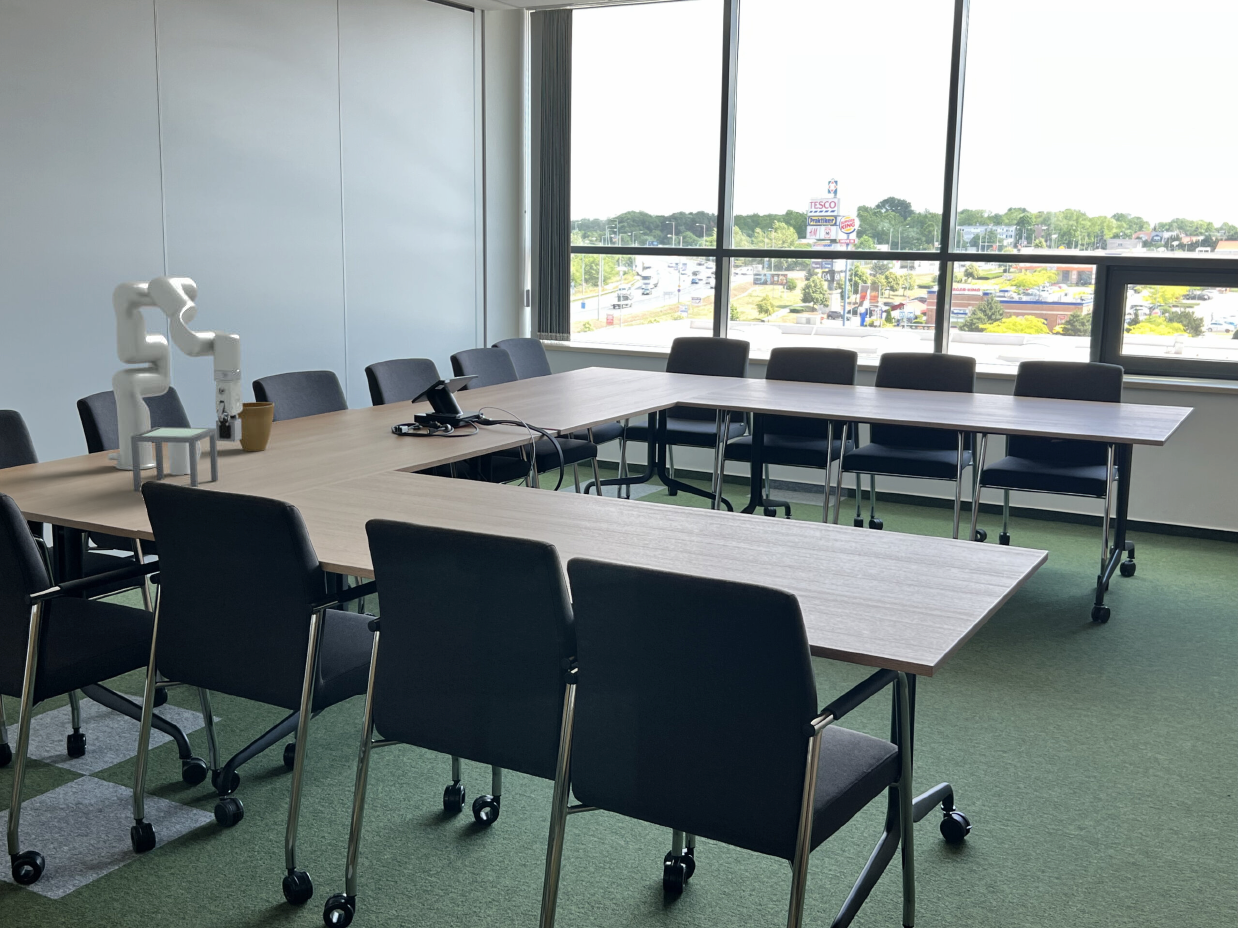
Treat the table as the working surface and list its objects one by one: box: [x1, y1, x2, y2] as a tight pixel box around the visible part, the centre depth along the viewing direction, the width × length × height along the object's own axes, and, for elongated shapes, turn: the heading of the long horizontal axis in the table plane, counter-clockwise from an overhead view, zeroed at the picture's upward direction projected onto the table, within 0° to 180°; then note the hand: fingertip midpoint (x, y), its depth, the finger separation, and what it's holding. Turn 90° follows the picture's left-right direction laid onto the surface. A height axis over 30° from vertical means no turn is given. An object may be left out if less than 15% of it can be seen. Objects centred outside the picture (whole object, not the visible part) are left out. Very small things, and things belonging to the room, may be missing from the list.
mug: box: [167, 441, 202, 476], centre depth 357 cm, size 10×7×12 cm, turn 131°
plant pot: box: [238, 401, 275, 452], centre depth 399 cm, size 15×15×16 cm
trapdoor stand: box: [131, 426, 219, 492], centre depth 338 cm, size 18×18×16 cm
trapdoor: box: [142, 427, 208, 437], centre depth 337 cm, size 14×14×1 cm
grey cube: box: [215, 417, 242, 443], centre depth 338 cm, size 6×6×6 cm
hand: (228, 435), depth 338 cm, fingers closed on grey cube, 5 cm apart
